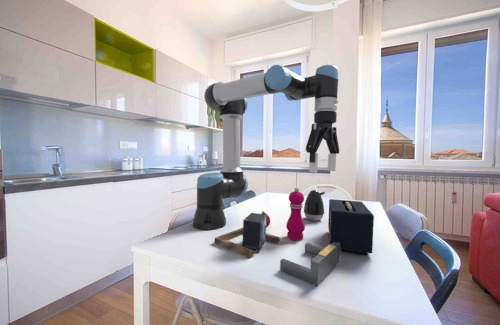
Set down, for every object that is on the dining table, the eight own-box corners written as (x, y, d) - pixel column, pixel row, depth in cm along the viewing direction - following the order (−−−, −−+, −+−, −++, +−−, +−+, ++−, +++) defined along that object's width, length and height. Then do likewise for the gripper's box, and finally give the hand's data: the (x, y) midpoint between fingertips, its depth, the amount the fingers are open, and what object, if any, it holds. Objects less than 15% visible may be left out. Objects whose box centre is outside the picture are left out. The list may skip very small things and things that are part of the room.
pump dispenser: (327, 222, 107) (328, 192, 107) (306, 222, 107) (307, 191, 107) (320, 216, 117) (321, 188, 117) (301, 216, 117) (302, 188, 117)
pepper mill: (304, 242, 83) (306, 189, 82) (285, 240, 84) (287, 188, 83) (304, 235, 90) (305, 186, 89) (286, 233, 91) (287, 185, 90)
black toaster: (328, 231, 95) (329, 197, 95) (360, 235, 91) (362, 199, 91) (330, 252, 75) (331, 208, 74) (372, 258, 71) (374, 212, 70)
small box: (260, 253, 72) (261, 222, 72) (241, 250, 74) (242, 220, 74) (266, 241, 83) (267, 213, 82) (249, 239, 84) (250, 212, 84)
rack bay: (279, 270, 62) (280, 249, 61) (306, 251, 75) (307, 233, 74) (317, 286, 55) (318, 262, 54) (339, 262, 68) (340, 242, 67)
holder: (214, 243, 80) (214, 237, 80) (245, 231, 93) (245, 226, 93) (250, 258, 69) (250, 252, 69) (279, 242, 82) (279, 237, 82)
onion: (271, 228, 98) (271, 210, 97) (268, 232, 92) (268, 213, 92) (258, 226, 99) (259, 208, 99) (255, 230, 94) (255, 212, 94)
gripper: (317, 104, 66) (314, 173, 67) (350, 115, 83) (347, 171, 84) (296, 107, 72) (294, 172, 72) (331, 117, 89) (329, 169, 90)
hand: (322, 171), depth 78 cm, fingers open, 13 cm apart
